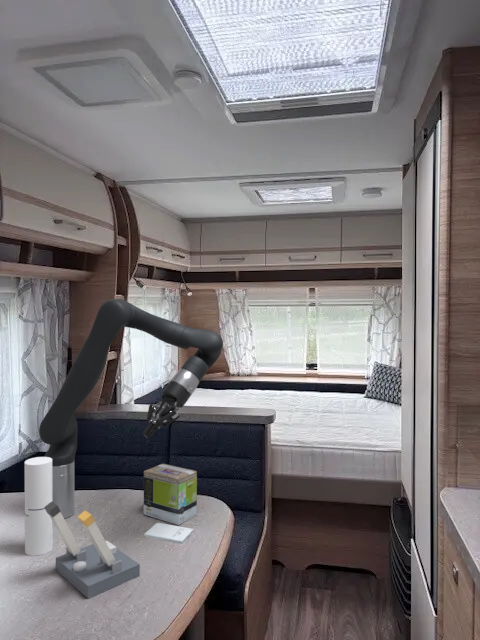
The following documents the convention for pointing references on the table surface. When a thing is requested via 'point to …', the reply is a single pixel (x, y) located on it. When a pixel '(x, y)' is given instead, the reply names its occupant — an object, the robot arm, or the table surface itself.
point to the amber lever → (96, 538)
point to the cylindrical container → (38, 506)
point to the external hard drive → (169, 533)
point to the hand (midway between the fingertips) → (145, 436)
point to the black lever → (62, 528)
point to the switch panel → (96, 570)
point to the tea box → (170, 493)
